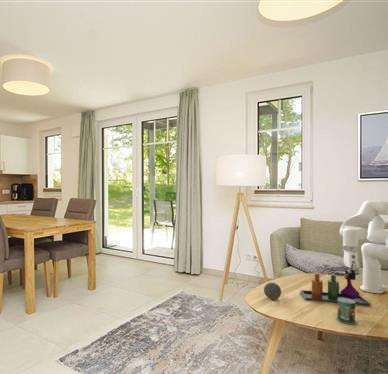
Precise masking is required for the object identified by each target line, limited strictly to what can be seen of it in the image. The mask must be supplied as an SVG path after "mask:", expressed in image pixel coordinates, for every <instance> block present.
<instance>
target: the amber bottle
mask: <svg viewBox="0 0 388 374" xmlns="http://www.w3.org/2000/svg"><path fill="white" fill-rule="evenodd" d="M323 283H324V282H323V279H320V273H319V272H315V273H314V278H311V291H312V295H311V296H312V297H313V298H319V299H322V298H323V292H324V291H323V290H324V288H323V287H324V286H323V285H324V284H323Z"/></svg>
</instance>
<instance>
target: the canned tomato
mask: <svg viewBox="0 0 388 374" xmlns="http://www.w3.org/2000/svg"><path fill="white" fill-rule="evenodd" d="M336 308H337V310H336V311H337V312H336V319H337V321H338V322H340V323H342V324H347V325H354V324H355V323H356V305H355V301H354V300H352V299H349V298H344V297H340V298H337V303H336Z"/></svg>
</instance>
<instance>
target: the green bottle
mask: <svg viewBox="0 0 388 374" xmlns="http://www.w3.org/2000/svg"><path fill="white" fill-rule="evenodd" d="M327 292H328V299H330V300H337V298H339V293H340V281H339V280H337V275H336V274H334V273H331V274H330V279H328V280H327Z"/></svg>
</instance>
